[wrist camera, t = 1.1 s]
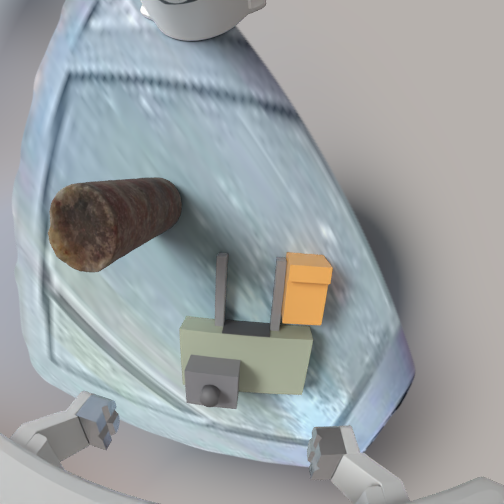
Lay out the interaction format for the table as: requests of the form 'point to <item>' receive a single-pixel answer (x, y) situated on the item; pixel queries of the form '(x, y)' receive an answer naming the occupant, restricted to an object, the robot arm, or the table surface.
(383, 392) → the table surface
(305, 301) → the orange lidded box
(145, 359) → the table surface
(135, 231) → the candle
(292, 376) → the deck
